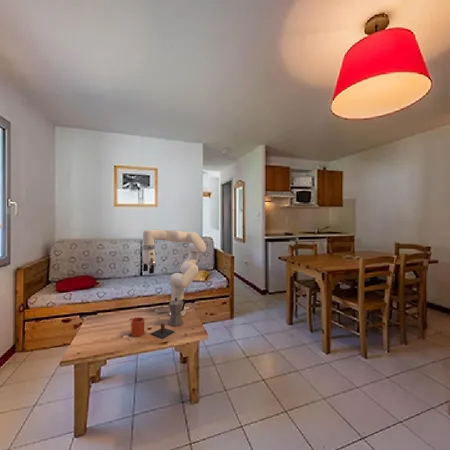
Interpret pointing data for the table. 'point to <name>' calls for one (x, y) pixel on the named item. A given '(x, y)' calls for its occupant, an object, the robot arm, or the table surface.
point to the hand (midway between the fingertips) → (148, 272)
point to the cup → (137, 326)
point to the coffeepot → (176, 312)
